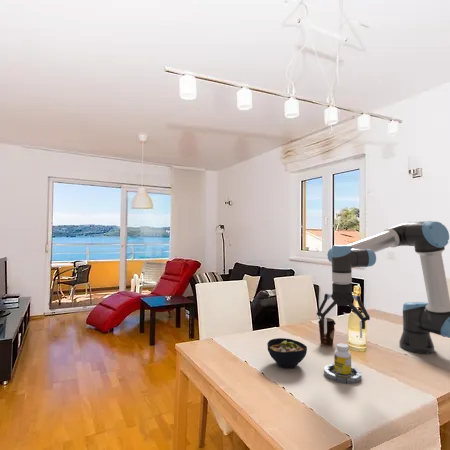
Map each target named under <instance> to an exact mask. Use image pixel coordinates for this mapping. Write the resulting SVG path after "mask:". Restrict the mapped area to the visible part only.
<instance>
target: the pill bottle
mask: <svg viewBox="0 0 450 450" xmlns="http://www.w3.org/2000/svg"><path fill="white" fill-rule="evenodd" d="M349 350H350V346H349V345H348V344H346V343H337V344H336V349H335V350H334V353H333V355H334V356H333V359H334V362H333V364H334V371H335V374H337V375H338V376H343V377H349V376H350V375H351V366H352V354H351V352H350V351H349Z"/></svg>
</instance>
